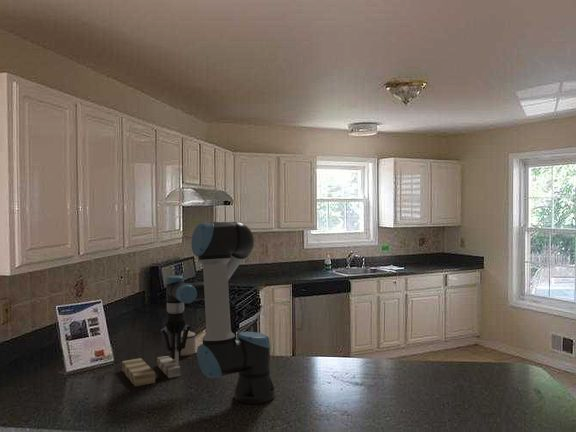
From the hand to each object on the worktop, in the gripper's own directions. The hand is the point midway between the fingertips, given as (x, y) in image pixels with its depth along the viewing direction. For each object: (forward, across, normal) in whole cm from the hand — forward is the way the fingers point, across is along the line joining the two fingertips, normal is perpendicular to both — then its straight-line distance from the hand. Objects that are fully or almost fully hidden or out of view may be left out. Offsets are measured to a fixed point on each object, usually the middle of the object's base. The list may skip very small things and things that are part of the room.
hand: (176, 365), depth 201 cm
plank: (+2, +3, 0) cm, 4 cm away
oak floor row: (+1, +16, 0) cm, 16 cm away
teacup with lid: (+2, -11, -21) cm, 24 cm away
